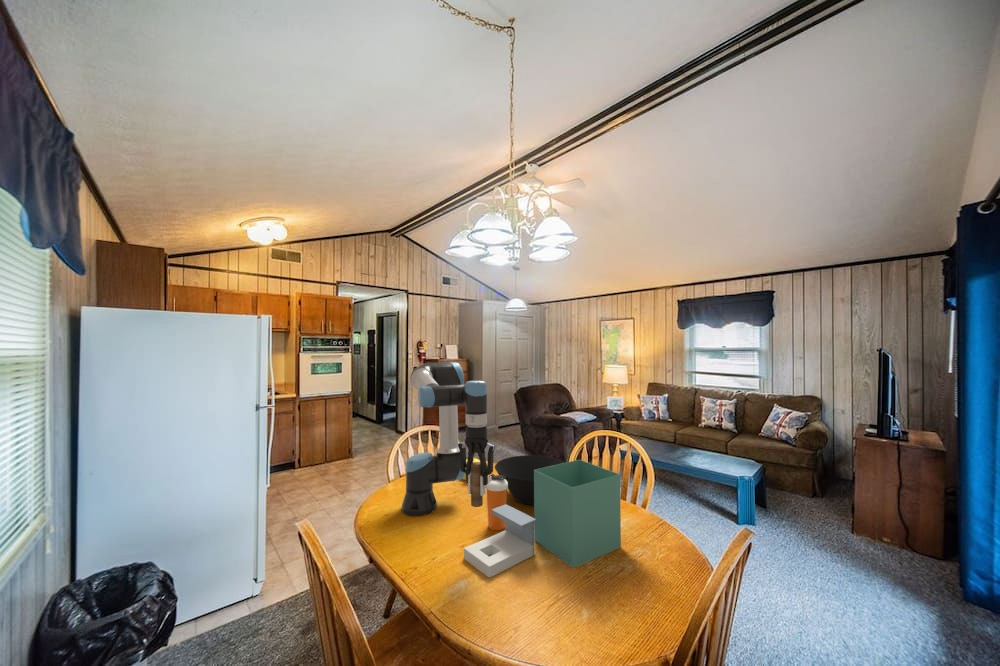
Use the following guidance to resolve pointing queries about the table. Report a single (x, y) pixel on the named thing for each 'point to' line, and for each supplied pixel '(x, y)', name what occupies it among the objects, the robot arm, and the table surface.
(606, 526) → the box
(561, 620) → the table surface
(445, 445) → the robot arm
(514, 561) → the socket station
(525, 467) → the bowl
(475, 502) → the peg
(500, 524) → the shaker bottle
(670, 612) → the table surface
